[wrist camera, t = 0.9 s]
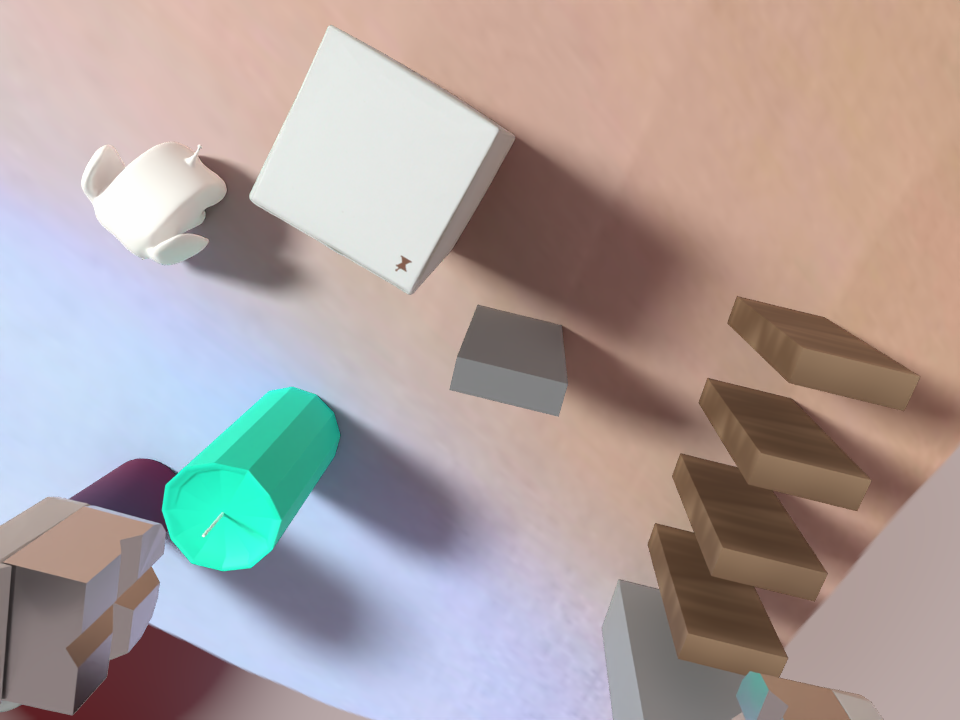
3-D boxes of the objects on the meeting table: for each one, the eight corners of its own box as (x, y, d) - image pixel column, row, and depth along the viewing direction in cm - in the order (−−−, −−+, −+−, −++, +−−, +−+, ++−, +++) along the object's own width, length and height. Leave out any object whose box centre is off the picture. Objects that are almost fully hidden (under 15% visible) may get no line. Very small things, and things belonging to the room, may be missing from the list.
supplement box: (520, 135, 36) (509, 131, 24) (451, 253, 38) (410, 304, 26) (400, 59, 35) (328, 16, 23) (337, 184, 38) (241, 203, 26)
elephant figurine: (103, 201, 39) (29, 211, 33) (186, 98, 37) (122, 90, 31) (192, 285, 40) (135, 308, 34) (277, 190, 38) (231, 198, 32)
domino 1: (737, 296, 38) (803, 348, 28) (824, 317, 37) (920, 376, 28) (727, 323, 38) (789, 382, 29) (813, 344, 38) (904, 410, 28)
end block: (618, 579, 44) (646, 732, 32) (723, 605, 44) (788, 768, 32) (601, 628, 45) (622, 792, 34) (703, 653, 45) (758, 826, 34)
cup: (79, 474, 45) (-135, 627, 31) (155, 428, 43) (-34, 567, 29) (143, 552, 46) (-33, 733, 32) (219, 510, 45) (69, 681, 31)
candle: (312, 490, 44) (231, 612, 32) (232, 441, 43) (121, 547, 32) (357, 420, 42) (288, 523, 30) (274, 368, 41) (172, 453, 30)
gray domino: (477, 304, 39) (456, 356, 29) (561, 325, 39) (567, 383, 29) (471, 330, 39) (449, 389, 30) (554, 350, 39) (558, 416, 30)
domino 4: (655, 523, 42) (688, 633, 33) (732, 542, 42) (788, 658, 33) (647, 544, 43) (677, 658, 33) (724, 563, 43) (776, 683, 33)
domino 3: (680, 453, 41) (722, 547, 31) (761, 473, 41) (827, 573, 31) (672, 476, 41) (711, 575, 32) (751, 496, 41) (814, 601, 32)
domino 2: (707, 378, 39) (760, 453, 30) (791, 398, 39) (871, 480, 30) (698, 402, 40) (748, 484, 30) (781, 423, 40) (857, 511, 30)
